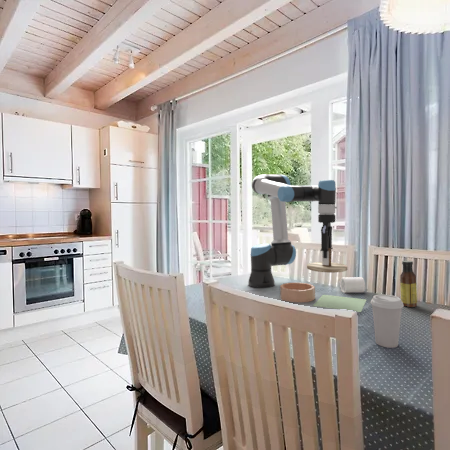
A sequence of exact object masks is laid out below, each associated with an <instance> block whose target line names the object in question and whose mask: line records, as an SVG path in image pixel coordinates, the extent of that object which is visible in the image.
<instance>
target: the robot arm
mask: <svg viewBox="0 0 450 450" xmlns="http://www.w3.org/2000/svg"><path fill="white" fill-rule="evenodd" d="M251 188H252V190H253V192H254V193H256V194H259V195H267V199H268V200H270V209H271V210H270V211H271V212H270V213H271V221H272V222H271V223H272V224H271V225H272V226H271V227H272V236H273V237H272V238H273V240H272V241H271V243H260V244H256V245H252V246H251V248H250V274H249V278H248V281H247V282H248V286H249V287H251V288H252V287H253V288H256V289H257V288H259V289H260V288H261V289H264V288H271V287H274V286H275V284H276V283H275V278H274V276H273V272H272V267H275V266H277V267H278V266H286V265H291V264H293V263H294V262H295V260H296V257H297V250H296V247H295V245H294V244H292V241H291V240H290V239H289V234H288V220H287V219H288V218H287V210H286V209H287V207H286V206H287V205H286V203H289V202H294V203H295V202H318V206H317V209H318V211H317V212H318V215H317V217H318V218H317V219H318V220H317V221H318V223H319V224H321V223H322V226H321V228H320V233H321V235H320V236H321V239H320V241H321V248H320V252H322V253H321V254H322V255H321V256H322V258H321V260H322V261H321V262H322V265H329V251H328V248H331V250H334V249H333V245H332V244H333V241H332V240H333V238H332V237H333V226H332V225H331V224H332V223H333V224H334V223H336V215H335V213H336V209H337V206H336V203H337V202H336V201H337V200H336V198H337V197H336V196H337V195H336V194H337V193H336V191H337V187H336V181H335V180H334V179H322V180H319V181H318V184H317V185H292V184H291V181H290V179H289V177H288V176H287V175H285V174H279V173H278V174H265V173H264V174H258V175H257V176H255V177H253V179H252V182H251Z"/></svg>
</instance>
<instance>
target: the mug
mask: <svg viewBox="0 0 450 450" xmlns="http://www.w3.org/2000/svg"><path fill="white" fill-rule="evenodd" d="M339 286H340V290H341V292H342V293H344V294H347V293H348V294H349V293H350V294H353V293H362V294H363V293H365V290H366V281H365V280H364V278H363V277H362V276H359V277H358V276H356V277H355V276H353V277H352V276H351V277H350V276H348V277H347V276H345V277H343V276H342V277H341V278H340V283H339Z"/></svg>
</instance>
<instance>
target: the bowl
mask: <svg viewBox="0 0 450 450" xmlns="http://www.w3.org/2000/svg"><path fill="white" fill-rule="evenodd" d="M279 287H280V289H279V291H280V293H279V294H280V296H279V298H280V299H281V301H285V302H290V303H292V302H293V303H309V302H312V301H314V300H315V299H316V286H314V285H313V284H311V283H308V282H307V283H306V282H298V281H296V282H287V283H286V282H285V283H282V284H281V285H279Z"/></svg>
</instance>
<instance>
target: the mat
mask: <svg viewBox="0 0 450 450" xmlns="http://www.w3.org/2000/svg"><path fill="white" fill-rule="evenodd" d="M366 302H367V299H365V298H364V299H363V298H356V297H349V296H348V297H346V296H338V295H332V294H331V295H330V294H322V295H321V296H320V297H319V298H318V299H317V301H316V302H314V304H312V306H313V307H317V308H318V307H319V308H327V309H334V310H340V309H347V310H346V311H348V310H354V311H353V312H355V311H356V312H355V313H357V312H358V313H362V311H363V309H364V307H365V305H366Z"/></svg>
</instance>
